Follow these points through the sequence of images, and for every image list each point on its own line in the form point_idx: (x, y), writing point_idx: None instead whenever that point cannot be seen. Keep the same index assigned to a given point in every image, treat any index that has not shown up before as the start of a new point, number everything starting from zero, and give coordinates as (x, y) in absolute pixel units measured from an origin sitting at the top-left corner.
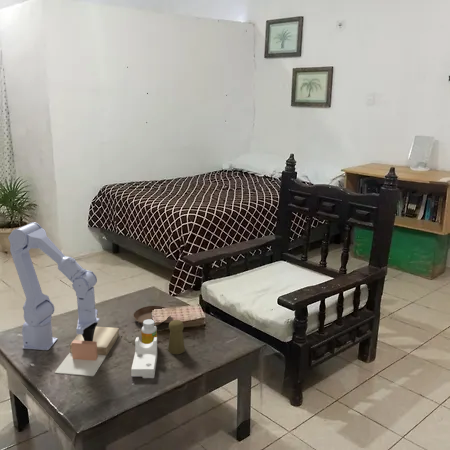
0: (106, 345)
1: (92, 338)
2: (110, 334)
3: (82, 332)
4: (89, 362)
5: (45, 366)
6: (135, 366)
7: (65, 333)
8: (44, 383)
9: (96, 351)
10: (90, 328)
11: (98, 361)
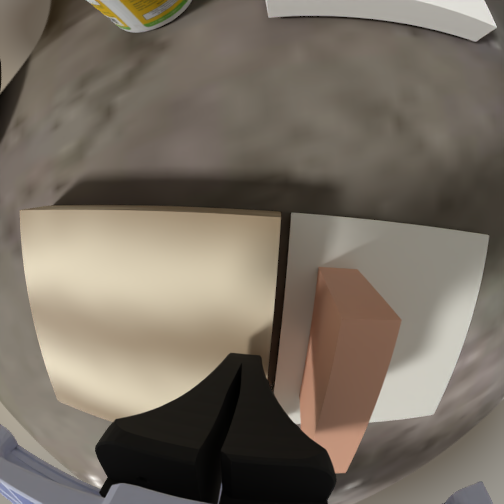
0: (242, 225)
1: (237, 370)
2: (83, 242)
3: (487, 495)
4: None
5: (374, 456)
6: (470, 4)
7: None
8: (479, 407)
9: (342, 284)
10: (320, 487)
11: (369, 245)
